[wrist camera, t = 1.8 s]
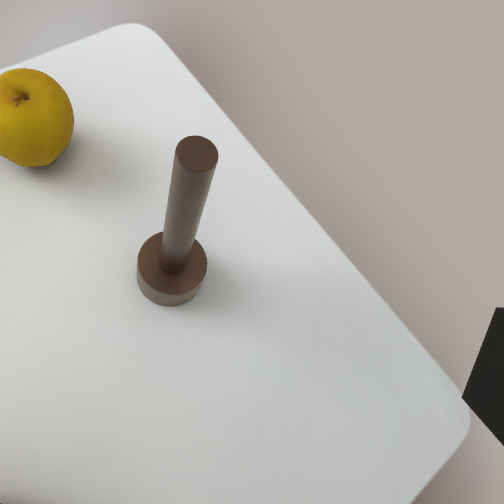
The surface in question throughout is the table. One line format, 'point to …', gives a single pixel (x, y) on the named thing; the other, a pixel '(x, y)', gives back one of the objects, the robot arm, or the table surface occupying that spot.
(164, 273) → the brown joystick
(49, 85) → the apple
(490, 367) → the robot arm
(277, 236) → the table surface
